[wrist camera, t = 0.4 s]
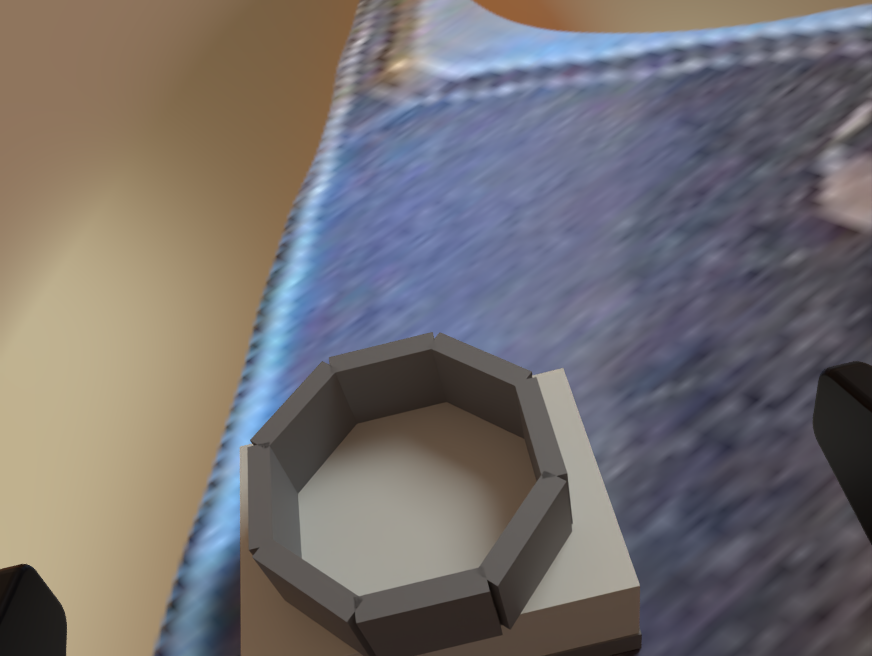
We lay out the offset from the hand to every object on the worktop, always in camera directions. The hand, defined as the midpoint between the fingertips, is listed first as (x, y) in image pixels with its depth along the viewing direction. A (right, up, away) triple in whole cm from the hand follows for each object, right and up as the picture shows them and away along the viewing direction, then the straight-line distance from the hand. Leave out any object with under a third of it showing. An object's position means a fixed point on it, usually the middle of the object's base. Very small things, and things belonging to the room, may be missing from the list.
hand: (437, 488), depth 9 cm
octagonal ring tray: (0, -6, +16) cm, 17 cm away
